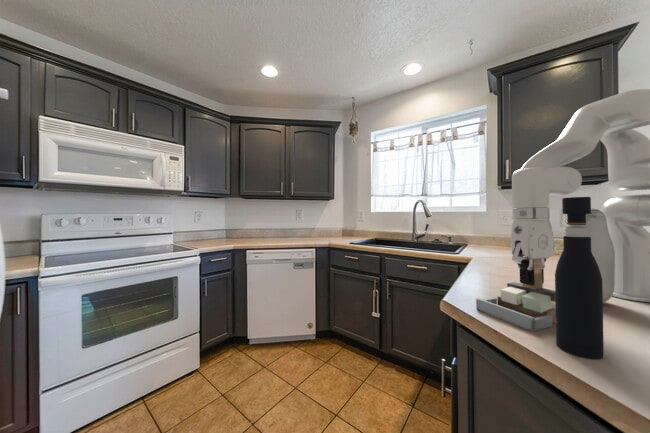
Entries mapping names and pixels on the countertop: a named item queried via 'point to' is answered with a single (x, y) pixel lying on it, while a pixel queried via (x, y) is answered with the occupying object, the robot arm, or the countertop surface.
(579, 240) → the black bottle
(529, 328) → the tray
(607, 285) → the white tall rounded piece
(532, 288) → the rubber stamp
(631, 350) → the countertop surface
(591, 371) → the countertop surface
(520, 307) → the walnut plate
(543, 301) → the sage tile
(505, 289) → the cream block
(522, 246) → the robot arm
